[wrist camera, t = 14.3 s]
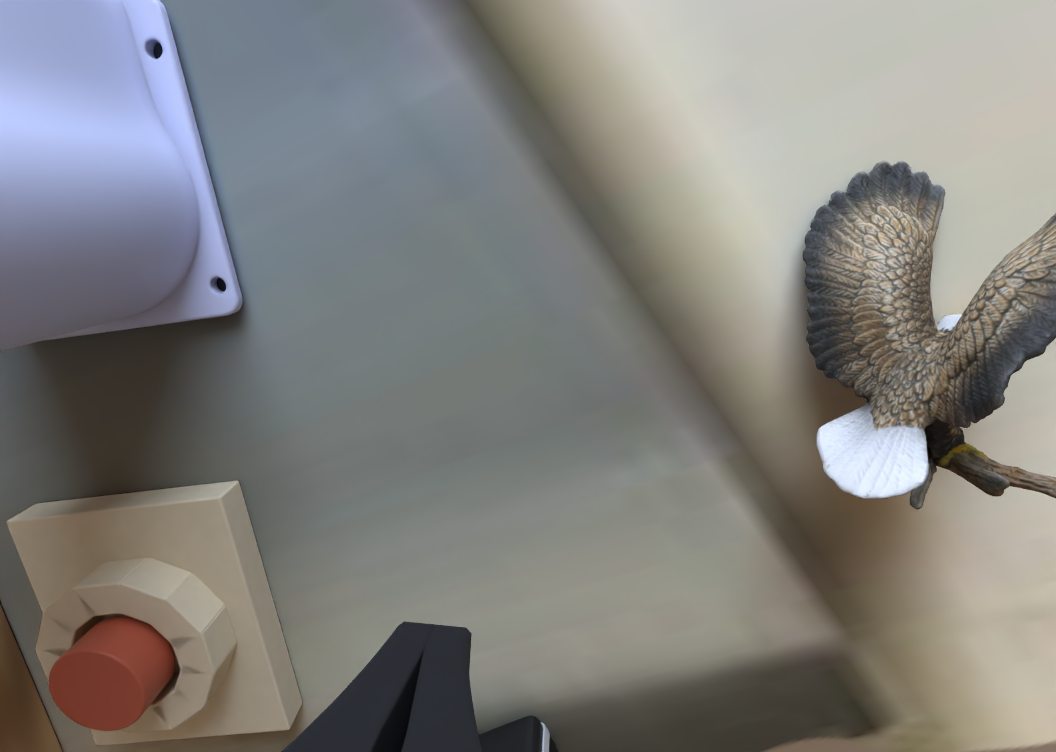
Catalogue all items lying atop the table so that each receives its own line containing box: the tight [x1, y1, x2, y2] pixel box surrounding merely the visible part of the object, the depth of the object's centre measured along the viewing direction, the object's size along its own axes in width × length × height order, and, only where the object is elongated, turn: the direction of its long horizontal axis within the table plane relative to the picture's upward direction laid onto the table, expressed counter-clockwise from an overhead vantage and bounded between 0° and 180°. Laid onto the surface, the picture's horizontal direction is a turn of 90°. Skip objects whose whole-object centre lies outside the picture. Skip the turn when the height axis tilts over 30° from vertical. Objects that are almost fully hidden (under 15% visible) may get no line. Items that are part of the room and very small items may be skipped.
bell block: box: [6, 481, 302, 746], centre depth 23 cm, size 10×8×3 cm
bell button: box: [49, 616, 175, 731], centre depth 21 cm, size 3×3×2 cm
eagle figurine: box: [803, 161, 1056, 510], centre depth 17 cm, size 8×7×9 cm
